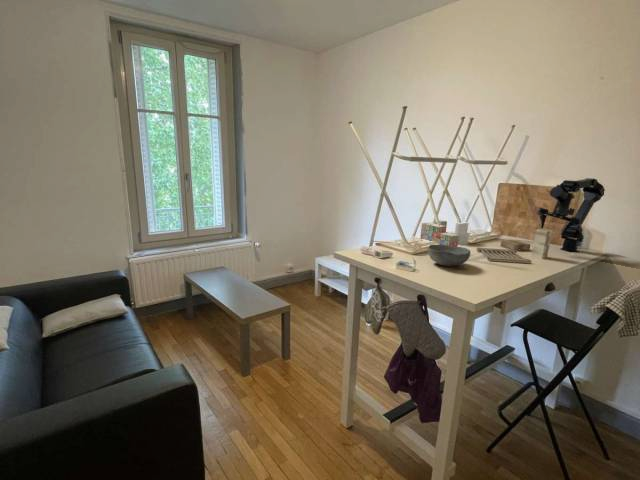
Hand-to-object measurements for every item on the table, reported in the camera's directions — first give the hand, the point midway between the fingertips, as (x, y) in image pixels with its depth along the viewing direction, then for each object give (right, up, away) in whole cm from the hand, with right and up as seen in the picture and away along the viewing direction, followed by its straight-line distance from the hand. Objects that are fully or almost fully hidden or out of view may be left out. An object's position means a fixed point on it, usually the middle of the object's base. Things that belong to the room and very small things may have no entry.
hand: (551, 231), depth 176 cm
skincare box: (-50, -5, +25) cm, 56 cm away
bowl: (-63, -16, -23) cm, 69 cm away
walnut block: (-12, -9, +12) cm, 20 cm away
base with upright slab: (-39, -6, +21) cm, 45 cm away
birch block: (-9, -13, -4) cm, 16 cm away
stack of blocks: (-57, -9, +7) cm, 58 cm away
